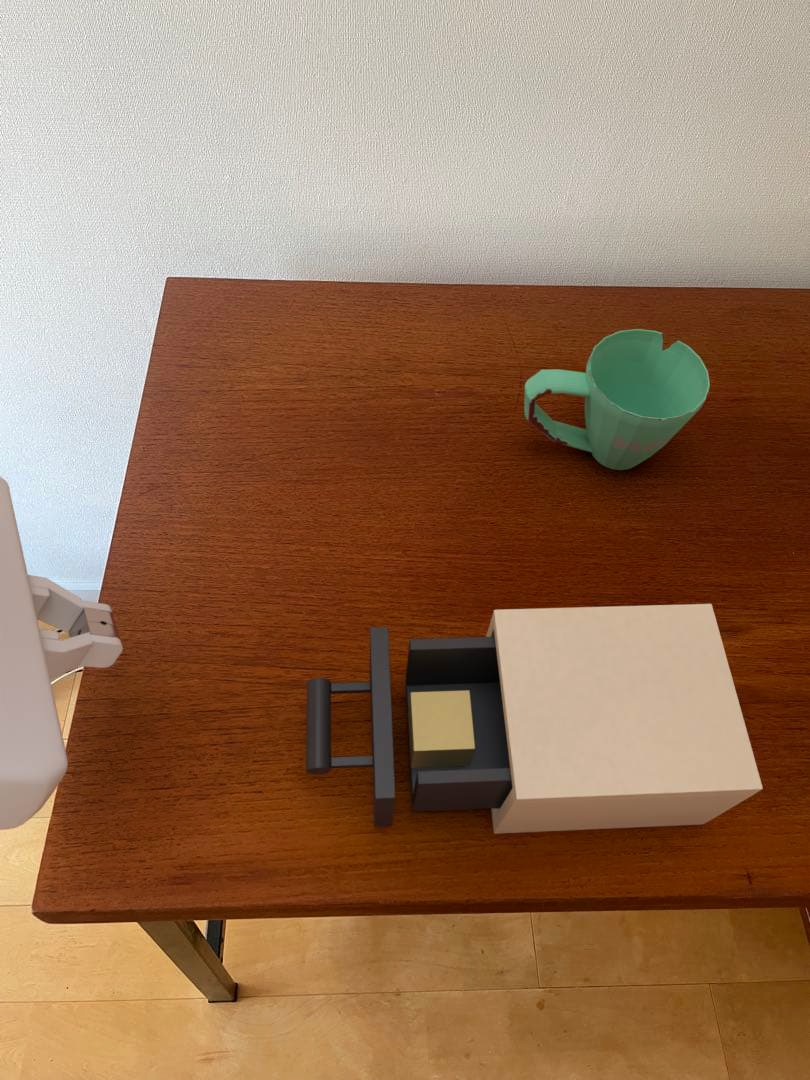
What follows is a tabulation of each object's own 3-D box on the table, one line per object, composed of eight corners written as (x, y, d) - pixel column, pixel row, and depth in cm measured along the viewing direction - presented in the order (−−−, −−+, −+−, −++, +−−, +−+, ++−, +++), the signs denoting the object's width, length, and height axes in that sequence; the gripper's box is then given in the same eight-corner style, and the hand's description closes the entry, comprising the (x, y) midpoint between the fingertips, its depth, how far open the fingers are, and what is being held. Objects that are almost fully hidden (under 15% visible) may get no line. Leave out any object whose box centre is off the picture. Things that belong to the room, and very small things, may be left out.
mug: (657, 406, 76) (694, 328, 67) (680, 492, 70) (724, 418, 62) (504, 408, 75) (521, 328, 66) (516, 495, 70) (537, 420, 61)
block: (410, 768, 55) (413, 751, 51) (407, 711, 57) (410, 691, 53) (468, 766, 55) (475, 748, 52) (463, 710, 57) (469, 689, 54)
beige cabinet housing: (493, 833, 55) (516, 799, 46) (476, 666, 61) (493, 609, 53) (703, 824, 56) (763, 789, 47) (665, 660, 62) (712, 603, 54)
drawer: (310, 829, 54) (301, 801, 47) (311, 674, 59) (304, 629, 53) (572, 818, 55) (601, 789, 48) (549, 666, 60) (572, 621, 54)
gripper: (-194, 763, 24) (197, 765, 34) (-184, 394, 37) (100, 473, 47) (-254, 881, 27) (129, 851, 36) (-226, 496, 39) (53, 550, 49)
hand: (112, 636), depth 42 cm, fingers closed
